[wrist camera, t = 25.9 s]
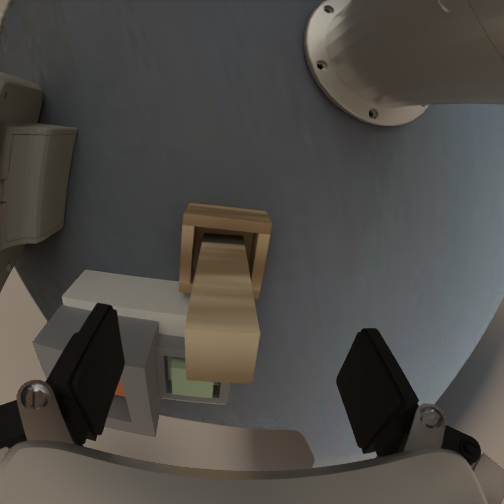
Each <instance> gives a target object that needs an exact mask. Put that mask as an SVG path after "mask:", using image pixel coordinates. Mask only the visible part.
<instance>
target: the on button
mask: <svg viewBox="0 0 504 504" xmlns="http://www.w3.org/2000/svg"><path fill="white" fill-rule="evenodd" d="M171 379H172V394H175V395H183V396H193V397H203V398H212V394H213V383H214V382H206V381H191V380H186V361H185V358H179V357H173V360H172V365H171Z"/></svg>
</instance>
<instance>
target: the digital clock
mask: <svg viewBox="0 0 504 504" xmlns="http://www.w3.org/2000/svg"><path fill="white" fill-rule="evenodd" d="M43 96H44V94H43V91H42V89H41V87H40V86H39V85H37V84H35V83H33V82H30V81H27V80H24V79H21V78H18V77H15V76H12V75H8V74H5V73H1V72H0V292H1V290H2V288H3V286H4V284H5V282H6V280H7V278H8V276H9V274H10V272H11V271H12V269H13V267H14V265H15V263H16V261H17V260H18V258H19V256H20V254H21V253H22V251H23V249H24V247H25V244H36V243H39V242H41V241H43V240H45V239H46V238H48V237H49V236H51V235H52V234H54V233H55V232H57V231H58V230H60V229H61V228H63V227H64V215H65V204H66V195H67V186H68V179H69V172H70V166H71V160H72V154H73V149H74V144H75V139H76V134H77V130H78V129H77V128H74V127H66V126H58V125H50V124H41V123H38V119H39V114H40V110H41V105H42V101H43Z"/></svg>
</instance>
